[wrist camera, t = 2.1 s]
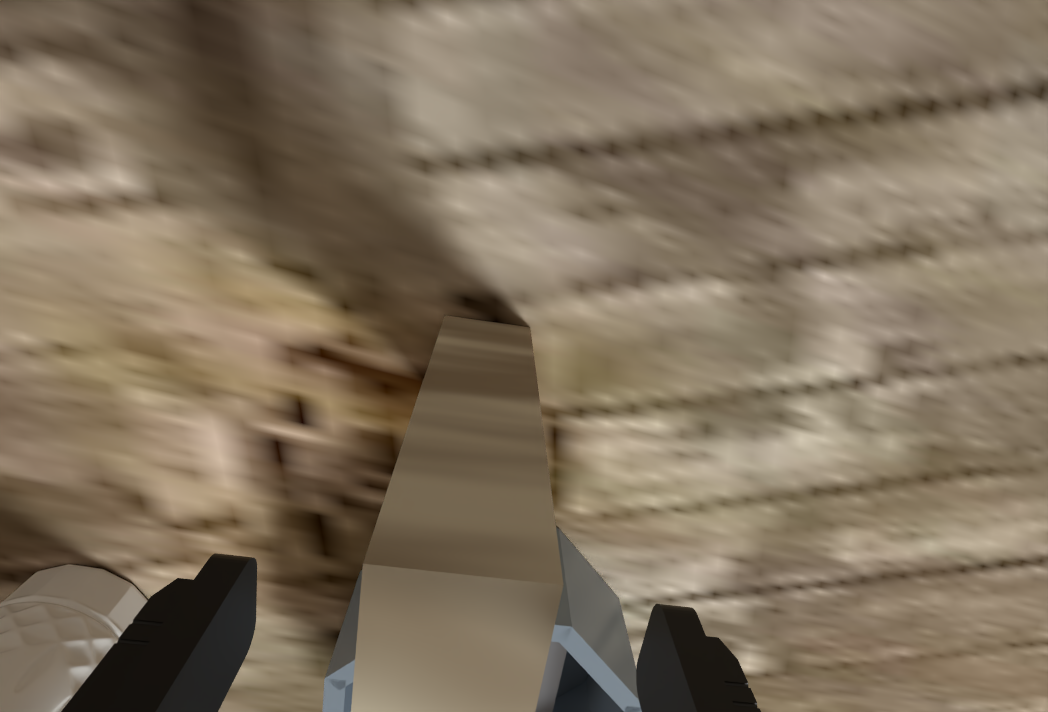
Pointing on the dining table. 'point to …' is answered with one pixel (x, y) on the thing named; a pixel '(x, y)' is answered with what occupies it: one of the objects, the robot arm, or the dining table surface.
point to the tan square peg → (463, 539)
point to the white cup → (60, 633)
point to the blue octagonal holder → (574, 655)
